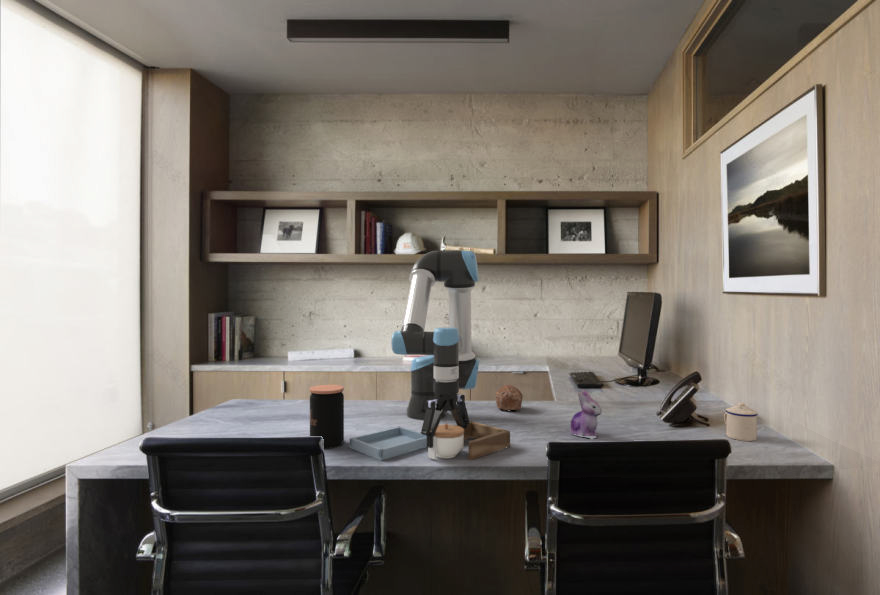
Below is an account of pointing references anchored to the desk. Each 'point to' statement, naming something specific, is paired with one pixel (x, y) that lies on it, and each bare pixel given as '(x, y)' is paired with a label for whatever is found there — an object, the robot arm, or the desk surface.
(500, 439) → the dock
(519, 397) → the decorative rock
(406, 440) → the tray
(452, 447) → the lidded jar
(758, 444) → the desk surface
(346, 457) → the desk surface
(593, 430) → the figurine
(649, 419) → the desk surface
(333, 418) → the coffee jar
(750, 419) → the teacup with lid
